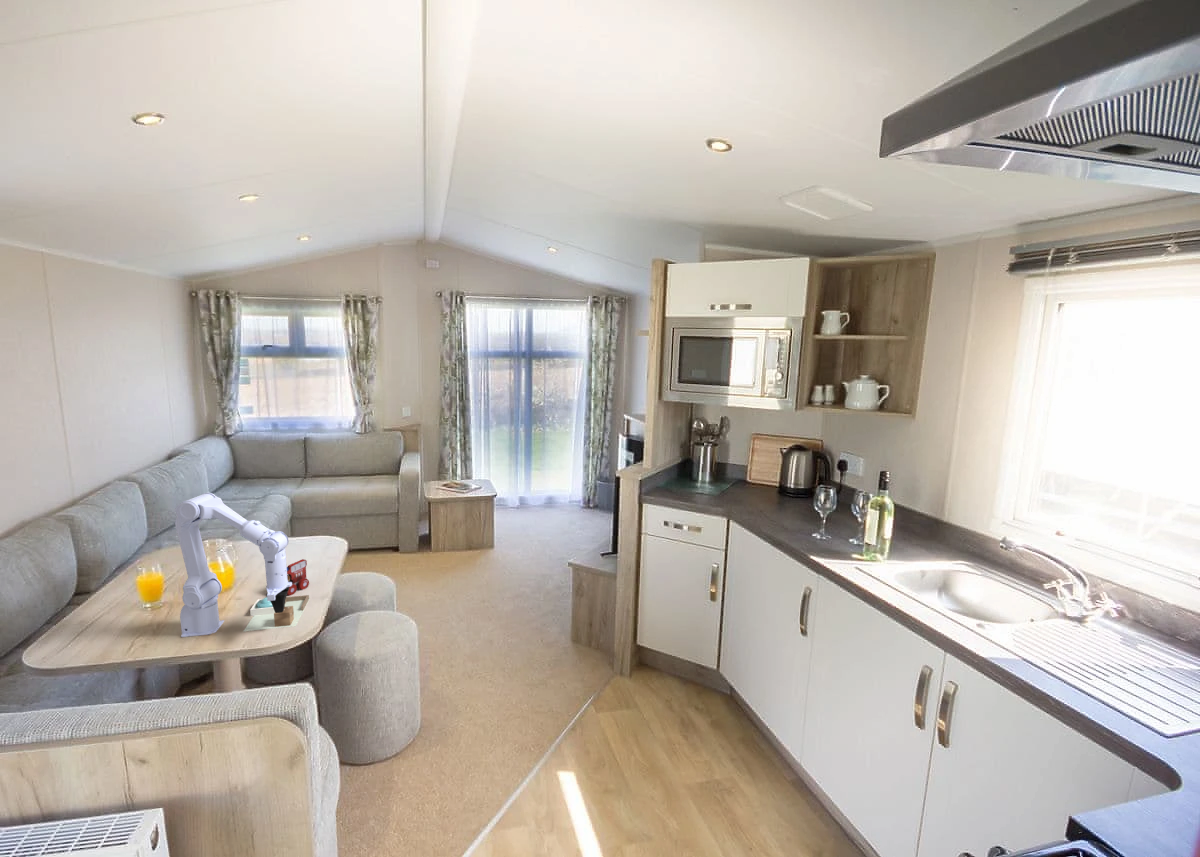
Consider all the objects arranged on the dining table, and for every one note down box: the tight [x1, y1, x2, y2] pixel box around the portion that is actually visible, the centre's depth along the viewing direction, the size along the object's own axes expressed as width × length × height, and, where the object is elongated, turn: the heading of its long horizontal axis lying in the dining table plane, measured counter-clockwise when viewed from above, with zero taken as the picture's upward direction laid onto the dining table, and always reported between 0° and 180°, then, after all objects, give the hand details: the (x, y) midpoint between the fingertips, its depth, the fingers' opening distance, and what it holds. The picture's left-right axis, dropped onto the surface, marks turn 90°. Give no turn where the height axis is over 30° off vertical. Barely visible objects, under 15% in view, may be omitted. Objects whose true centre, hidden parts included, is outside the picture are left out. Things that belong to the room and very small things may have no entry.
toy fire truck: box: [287, 559, 310, 596], centre depth 203 cm, size 7×12×10 cm, turn 157°
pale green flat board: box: [243, 594, 311, 632], centre depth 186 cm, size 16×20×3 cm
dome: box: [257, 597, 273, 608], centre depth 188 cm, size 6×6×4 cm
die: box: [274, 606, 294, 627], centre depth 180 cm, size 5×4×5 cm
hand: (279, 611), depth 175 cm, fingers closed
